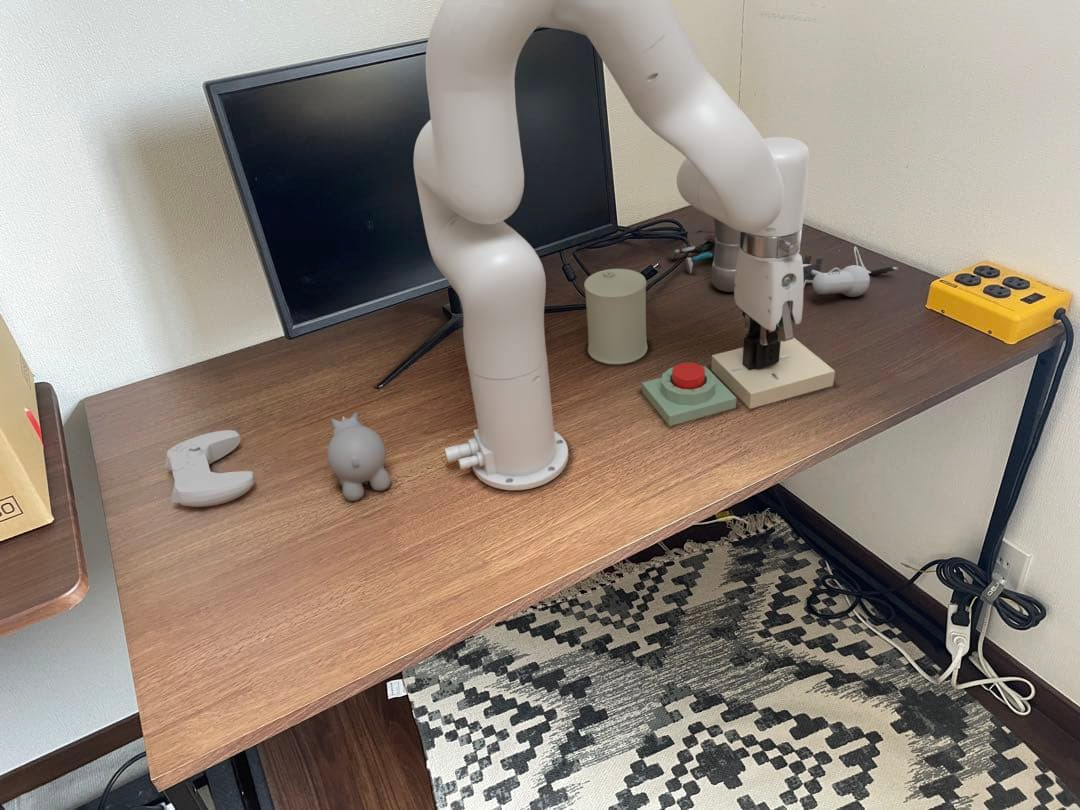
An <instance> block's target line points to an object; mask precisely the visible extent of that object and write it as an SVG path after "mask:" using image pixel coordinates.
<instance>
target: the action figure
mask: <svg viewBox="0 0 1080 810" xmlns="http://www.w3.org/2000/svg"><path fill="white" fill-rule="evenodd" d="M698 233H704V234H706V236H707V237H705V242H704V243H702V244H700V245H694V246H688V247H685V248H680V249H675V250H673V251H671V252H670V254H669V257H670V260H674V259H675V258H676V257H678V256H679V255H680V254H686V253H688V254H697V255H695V256H692V257H686V258H685V260H684V261H685V267H686V271H687V273H688V274H689V275H691V274H693V266H694V263H696V262H698V261H703V260H714V253H715V238H716V237H715V230H703V229H702V230H698V231H697V232H696V234H698Z"/></svg>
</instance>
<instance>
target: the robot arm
mask: <svg viewBox="0 0 1080 810" xmlns="http://www.w3.org/2000/svg"><path fill="white" fill-rule="evenodd" d="M538 27H541V28H547V29H548V28H549V29H556V30H557V29H558V30H565V31H571V32H574V33H577V34H580V35H584V36H586V37H587V38H588V40H589V41H590V43H591V44H592V46H593V47H594V49H595V51H596V52H597V54H598V55H599V57H600V58H601V60H602V62H603V63H604V64H605V66H606V68H607V69H608V72H609V73H610V75H611V77H612V78H613V80H614V82H615V83H616V85H617V86H618V88H619V90H620V91H621V92H622V94H623V96H624V97H625V99H626V101H627V102H628V104H629V106H630V107H631V109H632V111H633V112H634V114H635V115H636V116H637V117H638V118H639V119H640V121H642V123H644V125H646V126H647V127H648V128H649V129H650V130H651V131H652V132H653V133H654V134H655V135H657V136H658V137H660V138H661V139H662V140H664V141H665V142H666V143H667V144H669V145H671V146H672V147H673V148H674V149H675V150H677V151H678V152H679V153H681V155H683V156H684V157H685V159H684V160H683V162H682V163H681V164H680V166H679V167H678V171H677V175H676V186H677V190H678V193H679V194H680V196H681V197H682V199H683V200H684V201H685V202H686V203H688V204H689V205H690V206H692V207H693V208H695V209H697V210H699V211H700V212H703V213H704V214H706V215H708V216H710V217H712V218H713V219H714V218H716V219H717V220H719V221H721V222H723V223H724V224H726V225H727V226H729V227H731V228H733V229H735V230H737V231H740V232H741V234H740V249H739V253H738V259H737V265H736V273H735V285H734V292H733V296H734V297H733V298H734V303H735V305H736V306H737V307H738V308H739V309H740V310H741V312H742V316H743V319H744V326H743V328H744V331H745V333H746V334H745V337H749V336H753V335H756V334H760V342H758V343H757V345H756V358H755V367H756V368H758V369H760V368H763V367H767V366H771V365H774V364H776V363H777V357H778V346H779V342H780V341H783V342H785V341H788V340H792V339H793V337H794V331H793V325H796V326H797V325H800V324H801V322H802V318H803V310H804V309H803V308H804V292H805V289H804V288H805V286H804V276H803V263H802V261H803V257H802V255H801V254H800V252H801V242H802V232H803V223H804V213H805V205H806V204H805V203H806V196H807V195H806V194H807V185H808V175H809V164H810V151H809V148H808V146H807V145H806V144H805V142H803V141H801V140H799V139H797V138H793V137H786V136H771V137H766V138H763V137H762V135H761V133H760V132H759V131H758V129H757V128H756V126H755V125H754V124H753V122H752V121H751V120H750V118H749V117H748V116H747V115H746V114H745V113H744V111H743V110H742V109H741V108H740V107H739V106H738V104H737V103H735V101H734V100H733V99H732V98H731V96H730V95H729V94H728V93H727V92H726V90H725V89H724V88H723V87H722V85H721V84H720V83H719V82H718V81H717V80H716V79H715V77H713V75H711V74H710V72H709V71H708V70H707V69H706V67H705V65H704V63H703V62H702V60H701V58H700V56H699V54H698V53H697V50H696V49H695V47H694V45H693V42H692V41H691V39H690V38H689V36H688V34H687V32H686V30H685V28H684V26H683V24H682V22H681V20H680V18H679V16H678V15H677V13H676V11H675V8H674V7H673V5H672V2H671V1H670V0H443V1H442V4H441V5H440V8H439V10H438V12H437V14H436V17H435V19H434V22H433V23H432V26H431V29H430V32H429V35H428V39H427V43H426V44H427V45H426V51H425V79H426V91H427V97H428V105H429V114H430V119H429V120H428V121H427V122H426V123H425V124H424V125H423V127H422V128H421V130H420V131H419V134H418V136H417V138H416V141H415V144H414V150H413V172H414V178H415V184H416V189H417V195H418V199H419V200H418V201H419V206H420V211H421V215H422V219H423V220H422V221H423V226H424V231H425V236H426V240H427V245H428V248H429V251H430V255H431V258H432V261H433V263H434V264H435V266H436V267H437V269H438V271H439V272H440V273H441V275H443V277H444V278H445V280H447V282H448V283H449V284H450V285H449V286H451V288H452V289H453V290H454V291H455V293H456V294H457V296H458V298H459V301H460V303H461V307H462V315H463V317H462V318H463V322H462V323H463V324H462V334H463V336H462V337H463V345H464V354H465V359H466V365H467V370H468V375H469V381H470V387H471V394H472V398H473V406H474V411H475V418H476V423H477V424H476V425H477V428H476V429H473V437H472V438H470V439H469V438H468V439H467V442H466V443H462V444H456V445H451V446H447V447H444V448H443V451H444V456H445V459H446V462H447V463H448V464H450V463H453V462H457V461H458V466H459V469H460V470H461V471H462V470H465V469H470V468H471V467H472V471H473V473H474V475H475V476H476V477H477V478H478V479H479V481H481V482H482V483H484V484H485V485H487V486H488V487H489V486H490V487H492V488H495V489H499V490H504V491H525V490H532V489H534V488H537V487H540V486H541V487H542V486H544V485H546V484H548V483H550V482H551V481H553V480H554V479H556V478H557V477H559V475H561V474H562V473H563V471H564V469H566V466H567V464H568V462H569V456H570V455H569V446H568V444H567V441H566V440H565V439H564V437H563V436H562V435H561V434H560V433H558V432H557V431H555V425H554V413H553V404H552V396H551V385H550V383H551V382H550V376H549V375H550V373H549V365H548V364H549V363H548V354H547V346H546V345H547V344H546V336H545V335H546V333H545V303H546V293H547V281H546V273H545V269H544V265H543V263H542V261H541V258H540V256H539V255H538V254H537V252H536V250H535V249H534V248H533V246H532V245H531V244H530V243H529V242H528V241H527V240H526V239H525V237H523V236H522V235H521V234H520V233H518V232H517V230H515V229H514V228H513V227H512V226H510V225H508V224H507V223H506V222H505V220H507V219H508V218H510V217H511V216H512V215H513V214H514V213H515V212H516V211H517V209H518V208H519V206H520V203H521V201H522V198H523V195H524V189H525V171H524V163H523V155H522V148H521V140H520V130H519V123H518V113H517V107H516V106H517V104H516V87H515V86H516V85H515V81H516V80H515V76H516V67H517V64H518V60H519V57H520V54H521V52H522V49H523V48H524V46H525V44H526V42H527V41H528V39H529V38H530V36H531V35H533V32H534V31H535V30H536V29H537V28H538ZM769 330H770V331H773V332H770V333H769Z"/></svg>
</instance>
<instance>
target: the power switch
mask: <svg viewBox="0 0 1080 810" xmlns="http://www.w3.org/2000/svg"><path fill="white" fill-rule="evenodd" d="M674 367H675V366H673V367H670V368H668V369H667V370H666V371H664V372H663V373H662V374H661V377H658V378H654V379H650V380H647V381H643V382H641V393H642V394H643V395H644V397H645V398H646V399H647V400H648V402H649V403H650V404H651V406H652V407H653V408H654V409H655V410H656V412H657V413H658V414H659V415H660V416H661V418H662V419H663V421H665V423H666V424H667V425H668V426H669V427H671V426H675V425H679V424H682V423H685V422H690V421H693V420H697V419H701V418H704V417H709V416H711V415H715V414H718V413H722V412H726V411H729V410H733V409H736V408H737V398H738V397H736V396H735V394H733V392H732V391H730V389H729V388H728V387H726V385H725V384H724V383H723V382H722V381H720V380H721V379H720V378H719V377H718V376H717V375H716V374H715V373H714V372H713V371H712V370H710V369H709V367H707V366H705V365H704V366H702V367H703V368H704V370H705V382H704V384H703V386H702V387H700V388H696V389H681V388H678V387H675V386H674V385H673V383H672V370H673V368H674Z"/></svg>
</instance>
